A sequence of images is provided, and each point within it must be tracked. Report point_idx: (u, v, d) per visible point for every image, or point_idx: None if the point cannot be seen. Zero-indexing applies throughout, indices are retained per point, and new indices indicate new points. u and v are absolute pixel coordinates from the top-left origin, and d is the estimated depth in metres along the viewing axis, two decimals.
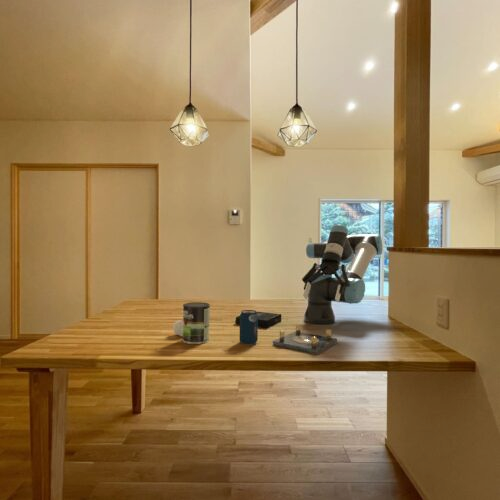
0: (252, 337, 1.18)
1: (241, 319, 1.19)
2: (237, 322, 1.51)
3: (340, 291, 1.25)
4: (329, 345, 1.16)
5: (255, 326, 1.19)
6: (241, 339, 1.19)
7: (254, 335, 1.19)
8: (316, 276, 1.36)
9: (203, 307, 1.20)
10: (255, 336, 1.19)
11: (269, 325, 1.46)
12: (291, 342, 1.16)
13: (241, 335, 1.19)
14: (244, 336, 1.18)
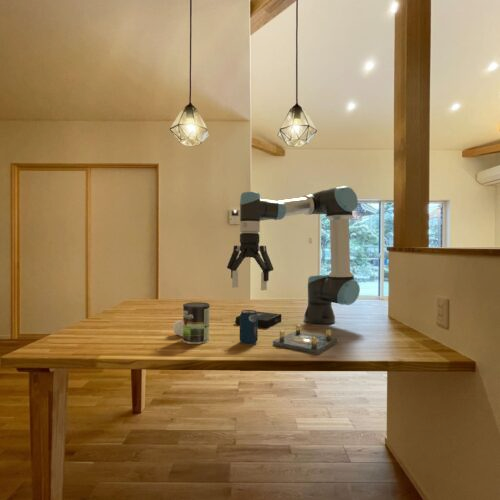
0: (252, 337, 1.18)
1: (241, 319, 1.19)
2: (237, 322, 1.51)
3: (264, 279, 1.16)
4: (329, 345, 1.16)
5: (255, 326, 1.19)
6: (241, 339, 1.19)
7: (254, 335, 1.19)
8: (239, 261, 1.24)
9: (203, 307, 1.20)
10: (255, 336, 1.19)
11: (269, 325, 1.46)
12: (291, 342, 1.16)
13: (241, 335, 1.19)
14: (244, 336, 1.18)
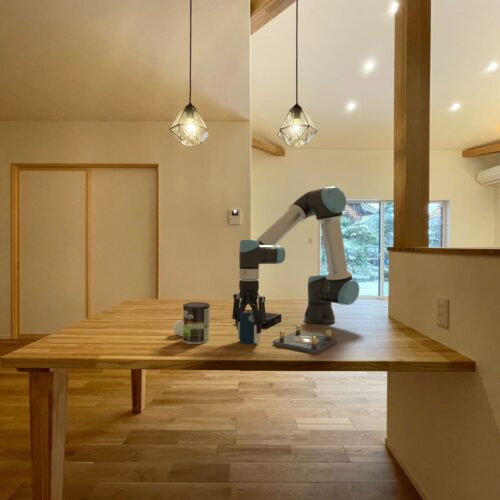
0: (252, 337, 1.18)
1: (241, 319, 1.19)
2: None
3: (257, 332, 1.18)
4: (329, 345, 1.16)
5: None
6: (241, 339, 1.19)
7: None
8: (242, 310, 1.23)
9: (203, 307, 1.20)
10: None
11: (269, 325, 1.46)
12: (291, 342, 1.16)
13: (241, 335, 1.19)
14: (244, 336, 1.18)
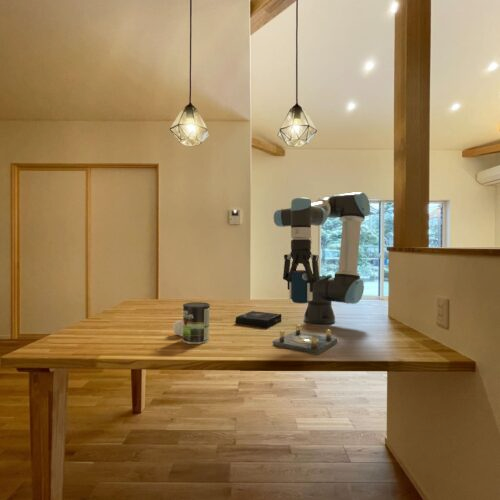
0: (305, 295, 1.18)
1: (294, 278, 1.19)
2: (237, 322, 1.51)
3: (311, 290, 1.17)
4: (329, 345, 1.16)
5: None
6: (294, 298, 1.19)
7: None
8: (294, 270, 1.22)
9: (203, 307, 1.20)
10: None
11: (269, 325, 1.46)
12: (291, 342, 1.16)
13: (294, 294, 1.19)
14: (297, 295, 1.18)
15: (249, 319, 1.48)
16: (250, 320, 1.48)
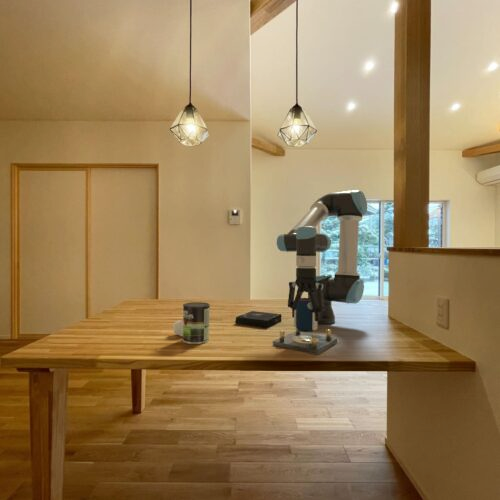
0: (310, 324, 1.17)
1: (299, 306, 1.18)
2: (237, 322, 1.51)
3: (316, 319, 1.17)
4: (329, 345, 1.16)
5: None
6: (299, 327, 1.18)
7: None
8: (299, 297, 1.22)
9: (203, 307, 1.20)
10: None
11: (269, 325, 1.46)
12: (291, 342, 1.16)
13: (299, 323, 1.18)
14: (302, 324, 1.17)
15: (249, 319, 1.48)
16: (250, 320, 1.48)
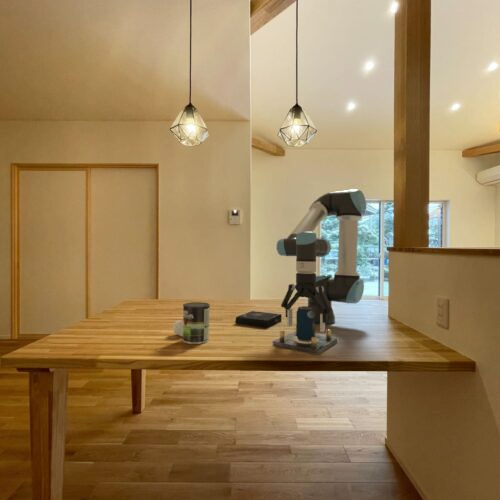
0: (311, 333, 1.17)
1: (299, 315, 1.18)
2: (237, 322, 1.51)
3: (324, 321, 1.15)
4: (329, 345, 1.16)
5: (313, 322, 1.18)
6: (299, 335, 1.18)
7: (312, 331, 1.18)
8: (295, 300, 1.23)
9: (203, 307, 1.20)
10: (313, 332, 1.18)
11: (269, 325, 1.46)
12: (291, 342, 1.16)
13: (299, 331, 1.18)
14: (302, 332, 1.17)
15: (249, 319, 1.48)
16: (250, 320, 1.48)
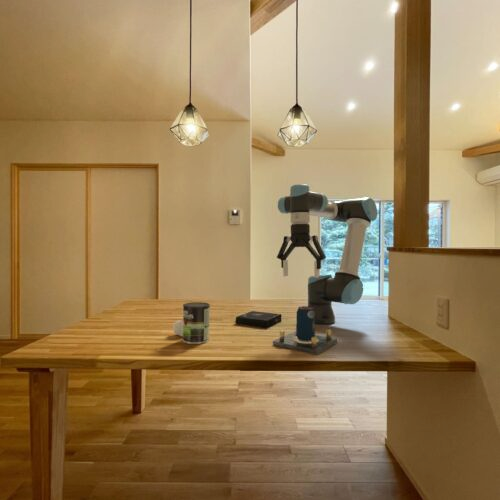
0: (311, 333, 1.17)
1: (299, 315, 1.18)
2: (237, 322, 1.51)
3: (318, 267, 1.23)
4: (329, 345, 1.16)
5: (313, 322, 1.18)
6: (299, 335, 1.18)
7: (312, 331, 1.18)
8: (290, 251, 1.30)
9: (203, 307, 1.20)
10: (313, 332, 1.18)
11: (269, 325, 1.46)
12: (291, 342, 1.16)
13: (299, 331, 1.18)
14: (302, 332, 1.17)
15: (249, 319, 1.48)
16: (250, 320, 1.48)
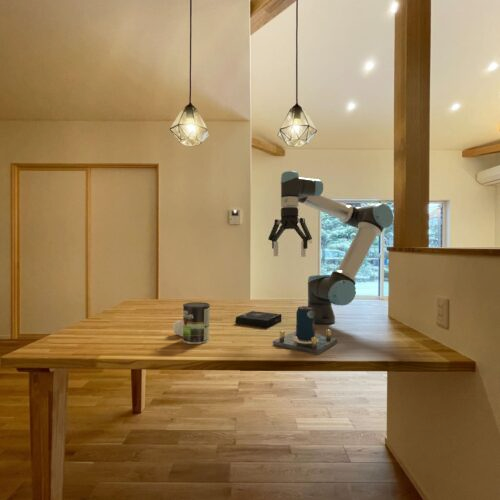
0: (311, 333, 1.17)
1: (299, 315, 1.18)
2: (237, 322, 1.51)
3: (304, 247, 1.33)
4: (329, 345, 1.16)
5: (313, 322, 1.18)
6: (299, 335, 1.18)
7: (312, 331, 1.18)
8: (280, 233, 1.41)
9: (203, 307, 1.20)
10: (313, 332, 1.18)
11: (269, 325, 1.46)
12: (291, 342, 1.16)
13: (299, 331, 1.18)
14: (302, 332, 1.17)
15: (249, 319, 1.48)
16: (250, 320, 1.48)
